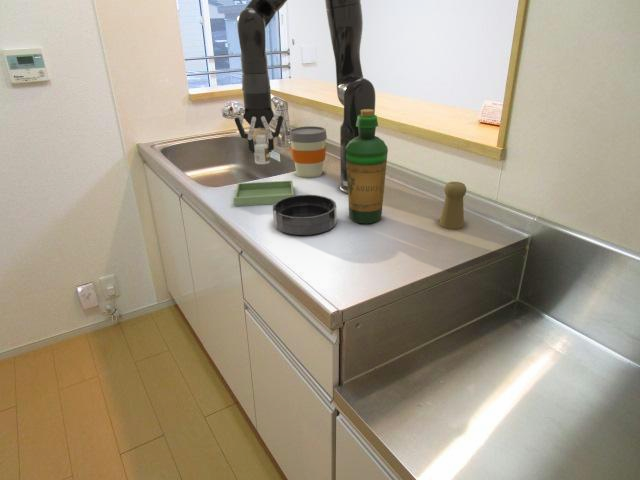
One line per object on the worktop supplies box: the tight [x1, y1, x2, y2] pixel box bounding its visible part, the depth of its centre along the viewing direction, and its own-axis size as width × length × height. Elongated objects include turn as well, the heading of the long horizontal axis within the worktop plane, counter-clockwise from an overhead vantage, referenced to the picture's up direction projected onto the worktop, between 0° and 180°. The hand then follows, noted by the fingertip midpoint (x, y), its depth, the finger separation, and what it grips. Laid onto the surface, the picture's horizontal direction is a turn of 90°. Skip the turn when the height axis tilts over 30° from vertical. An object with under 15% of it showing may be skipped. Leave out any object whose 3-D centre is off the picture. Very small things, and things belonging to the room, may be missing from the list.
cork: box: [439, 181, 467, 230], centre depth 112 cm, size 6×6×11 cm
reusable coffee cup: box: [288, 125, 328, 179], centre depth 153 cm, size 13×13×15 cm
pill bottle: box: [253, 134, 271, 165], centre depth 130 cm, size 4×4×8 cm
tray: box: [233, 180, 295, 207], centre depth 136 cm, size 17×13×2 cm
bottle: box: [346, 109, 389, 225], centre depth 113 cm, size 11×11×28 cm
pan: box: [272, 194, 338, 236], centre depth 117 cm, size 16×16×5 cm
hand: (261, 151), depth 130 cm, fingers closed on pill bottle, 4 cm apart
